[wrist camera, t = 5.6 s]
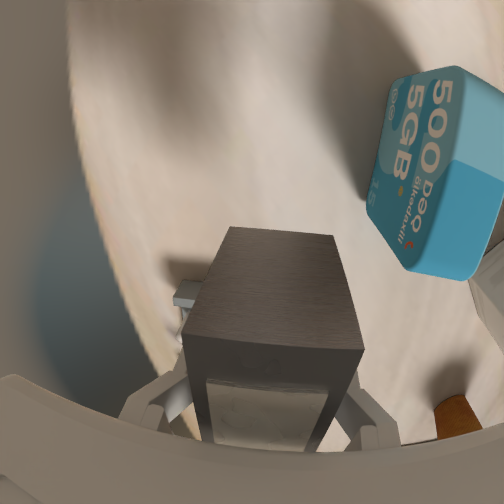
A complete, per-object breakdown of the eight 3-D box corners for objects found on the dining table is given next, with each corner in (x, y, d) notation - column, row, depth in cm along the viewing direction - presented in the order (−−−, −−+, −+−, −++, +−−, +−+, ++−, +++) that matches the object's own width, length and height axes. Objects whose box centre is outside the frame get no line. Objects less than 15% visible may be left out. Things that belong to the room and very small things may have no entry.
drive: (229, 226, 11) (178, 337, 6) (333, 235, 11) (366, 354, 6) (230, 385, 16) (210, 478, 11) (298, 392, 16) (295, 487, 10)
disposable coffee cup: (417, 412, 37) (431, 471, 27) (465, 381, 33) (488, 440, 23) (435, 425, 39) (448, 476, 29) (477, 398, 35) (496, 448, 25)
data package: (390, 79, 19) (466, 60, 8) (434, 97, 19) (524, 98, 8) (362, 210, 25) (410, 282, 14) (405, 220, 24) (468, 292, 14)
